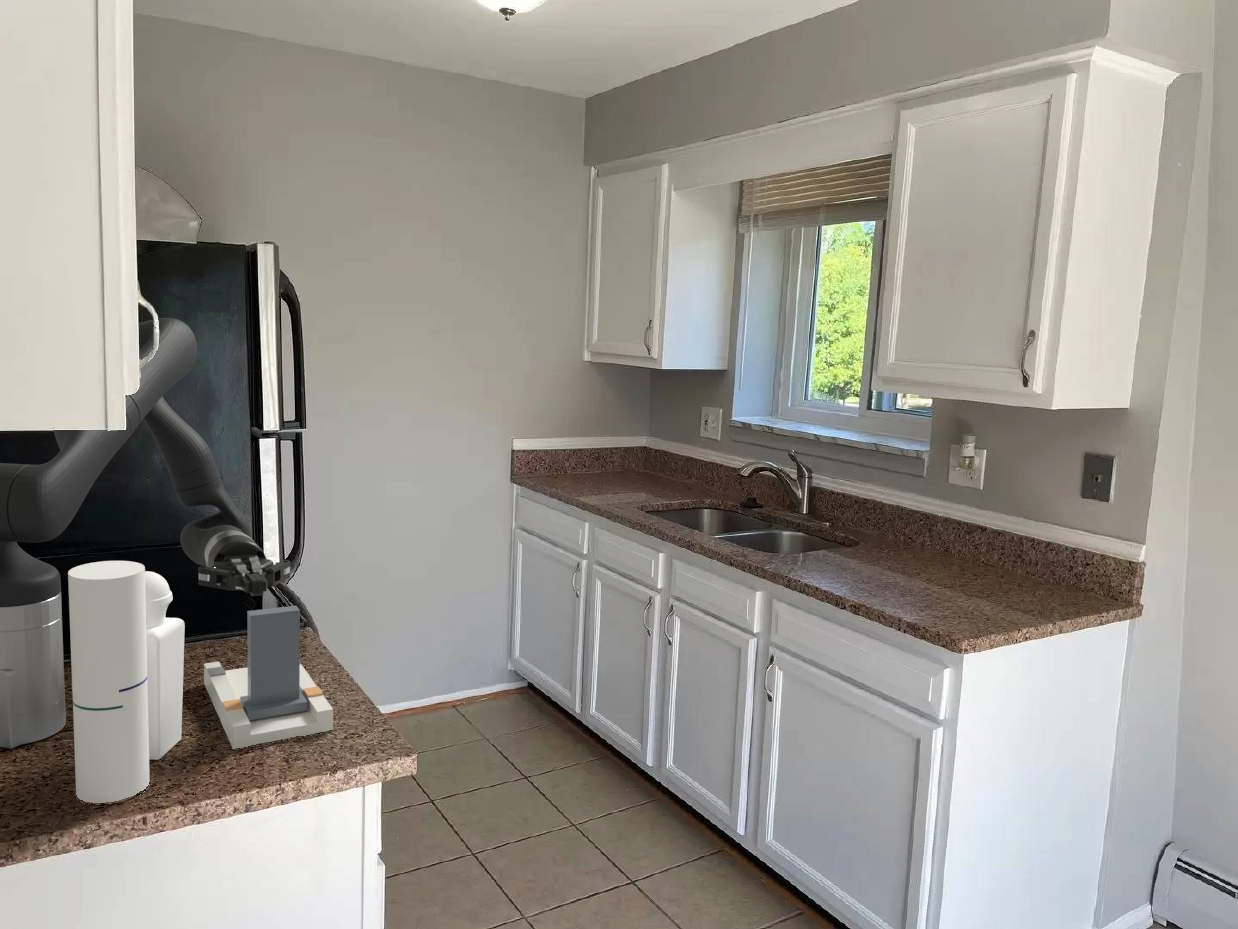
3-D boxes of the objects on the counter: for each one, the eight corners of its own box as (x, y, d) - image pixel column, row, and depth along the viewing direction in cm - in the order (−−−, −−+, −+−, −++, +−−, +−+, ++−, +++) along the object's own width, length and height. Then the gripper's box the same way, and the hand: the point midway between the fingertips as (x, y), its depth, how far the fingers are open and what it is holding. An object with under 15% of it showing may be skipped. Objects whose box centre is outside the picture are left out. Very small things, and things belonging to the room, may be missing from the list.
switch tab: (239, 705, 121) (239, 608, 119) (298, 696, 125) (298, 601, 123) (247, 720, 117) (247, 620, 114) (307, 710, 121) (308, 613, 118)
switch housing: (204, 683, 131) (203, 661, 130) (291, 670, 137) (292, 649, 137) (233, 749, 113) (233, 724, 112) (332, 731, 119) (333, 707, 119)
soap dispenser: (187, 738, 115) (185, 566, 111) (160, 763, 109) (157, 582, 105) (135, 734, 115) (131, 562, 112) (105, 759, 109) (99, 578, 105)
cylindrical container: (162, 786, 104) (158, 570, 99) (96, 812, 98) (89, 583, 94) (128, 766, 107) (123, 557, 103) (63, 790, 102) (54, 569, 98)
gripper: (186, 537, 136) (205, 565, 121) (280, 531, 143) (308, 557, 129) (186, 587, 137) (205, 620, 122) (279, 579, 144) (307, 610, 130)
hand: (258, 588), depth 126 cm, fingers closed
